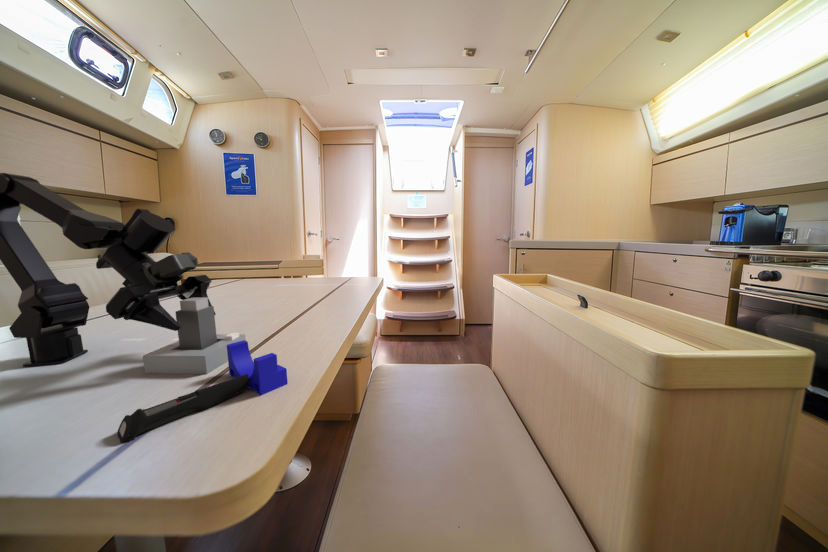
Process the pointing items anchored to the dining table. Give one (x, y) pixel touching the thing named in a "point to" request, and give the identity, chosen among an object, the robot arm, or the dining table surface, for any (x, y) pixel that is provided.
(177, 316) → the plug
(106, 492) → the dining table surface
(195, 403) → the electric trimmer
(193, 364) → the socket
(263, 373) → the cable clip
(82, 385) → the dining table surface
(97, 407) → the dining table surface
